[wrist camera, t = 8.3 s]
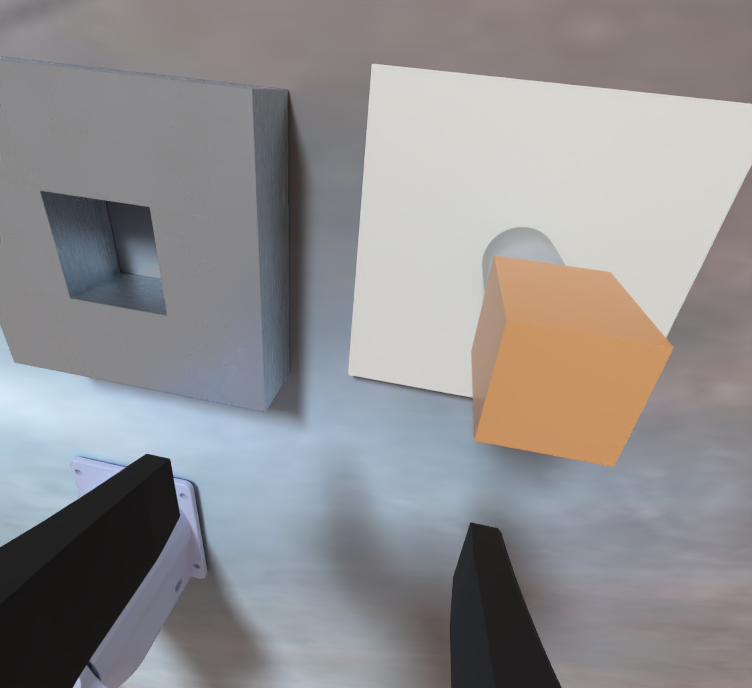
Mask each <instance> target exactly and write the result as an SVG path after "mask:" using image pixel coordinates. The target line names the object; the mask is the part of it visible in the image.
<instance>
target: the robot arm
mask: <svg viewBox="0 0 752 688" xmlns="http://www.w3.org/2000/svg"><path fill="white" fill-rule="evenodd" d="M70 467H71V470H72V473H73V476H74V478H75V481H76V484H77V487H78V490H79V492H80V496H79V497H78V498H77V499H76V500H75V501H74V502H73V503H71V504H70V505H68V506H66V507H65V508H63V509H62V510H60V511H59V512H57V513H56V514H54V515H52V516H51V517H49V518H48V519H46V520H45V521H43V522H41V523H40V524H38V525H37V526H35V527H33V528H32V529H30V530H28V531H27V532H25V533H23V534H22V535H20V536H18V537H17V538H15V539H13V540H12V541H10V542H8V543H7V544H5V545H3V546H2V547H0V688H118V687H119V686H120V685H121V684H123V683H124V682H125V681H126V680H127V679H128V678H129V677H130V676H131V675H132V674H133V673H134V672H135V671H136V670H137V668H138V667H139V666H140V664H141V663H142V661H143V660H144V658H145V656H146V655H147V653H148V651H149V649H150V648H151V646H152V644H153V642H154V641H155V639H156V637H157V635H158V634H159V632H160V630H161V628H162V627H163V625H164V623H165V621H166V620H167V618H168V616H169V614H170V613H171V611H172V609H173V607H174V606H175V604H176V602H177V600H178V599H179V597H180V595H181V594H182V592H183V590H184V588H185V587H186V585H187V583H188V581H189V580H190V578H191V577H194V578H198V579H203V578H205V577H206V575H207V566H206V560H205V554H204V548H203V542H202V536H201V530H200V524H199V518H198V512H197V506H196V499H195V493H194V488H193V485H192V484H191V483H190V482H188V481H186V480H182V479H177V478H173V472H172V467H171V461H170V459H168V458H164V457H159V456H154V455H150V454H146V455H144V456H143V457H141V458H139V459H138V460H136V461H135V462H133V463H132V464H130V465H129V466H127V467H123V466H118V465H114V464H109V463H104V462H100V461H95V460H91V459H86V458H82V457H75V458H73V459H72V460H71V461H70ZM450 650H451V686H452V688H561V685H560V683H559V681H558V679H557V677H556V675H555V673H554V670H553V668H552V666H551V664H550V661H549V659H548V657H547V655H546V652H545V650H544V648H543V645H542V643H541V641H540V638H539V636H538V633H537V631H536V628H535V626H534V624H533V621H532V619H531V616H530V614H529V612H528V609H527V606H526V604H525V601H524V599H523V596H522V593H521V591H520V588H519V585H518V582H517V580H516V577H515V574H514V571H513V568H512V565H511V562H510V559H509V556H508V553H507V550H506V547H505V543H504V540H503V537H502V533H501V532H500V530H499V529H498V528H494V527H489V526H484V525H480V524H475V523H470V525H469V529H468V532H467V535H466V538H465V541H464V544H463V548H462V551H461V554H460V557H459V560H458V564H457V567H456V570H455V573H454V576H453V587H452V601H451V617H450Z"/></svg>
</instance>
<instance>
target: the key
mask: <svg viewBox="0 0 752 688" xmlns="http://www.w3.org/2000/svg"><path fill="white" fill-rule="evenodd" d="M482 270H483V279H484V288H485V295H484V299H483V304H482V308H481V312H480V316H479V321H478V325H477V329H476V333H475V338H474V342H473V346H472V350H471V360H472V389H473V419H474V441H478V442H483V443H488V444H494V445H499V446H505V447H510V448H515V449H521V450H526V451H531V452H537V453H542V454H548V455H553V456H558V457H564V458H569V459H575V460H580V461H585V462H591V463H596V464H602V465H607V466H612V467H614V466H615V464H616V462H617V460H618V458H619V456H620V454H621V452H622V450H623V448H624V446H625V444H626V442H627V440H628V438H629V436H630V434H631V432H632V430H633V428H634V426H635V424H636V422H637V420H638V418H639V416H640V414H641V412H642V410H643V408H644V406H645V404H646V402H647V400H648V398H649V396H650V394H651V392H652V390H653V388H654V386H655V384H656V382H657V380H658V378H659V376H660V374H661V372H662V370H663V368H664V366H665V364H666V362H667V360H668V358H669V356H670V354H671V352H672V350H673V348H674V347H673V346H672V345H671V344H670V342H669V341H668V340H667V339H666V338H665V336H664V335H663V334H662V333H661V332H660V330H659V329H658V328H657V327H656V326H655V324H654V323H653V322H652V321H651V320H650V319H649V317H648V316H647V315H646V314H645V313H644V311H643V310H642V309H641V308H640V307H639V305H638V304H637V303H636V302H635V301H634V299H633V298H632V297H631V296H630V295H629V293H628V292H627V291H626V290H625V289H624V288H623V286H622V285H621V284H620V283H619V282H618V280H617V279H616V278H615V277H614V276H613V274H612V273H611V272H606V271H599V270H593V269H586V268H579V267H572V266H566V265H565V263H564V262H563V260H562V258H561V257H560V255H559V254H558V252H557V250H556V249H555V247H554V245H553V244H552V242H551V241H550V239H549V238H548V237H547V236H546V235H545V234H543V233H542V232H540V231H538V230H536V229H533V228H528V227H517V228H512V229H509V230H506V231H504V232H502V233H500V234H499V235H497V236H496V237H495V238H494V239H493V240H492V241H491V242H490V243H489V245H488V246H487V248H486V250H485V252H484V255H483V259H482Z"/></svg>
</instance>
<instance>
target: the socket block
mask: <svg viewBox="0 0 752 688" xmlns="http://www.w3.org/2000/svg"><path fill="white" fill-rule="evenodd" d="M105 200H106V201H112V202H119V203H126V204H132V205H139V206H146V207H150V213H151V219H152V225H153V231H154V237H155V243H156V249H157V256H158V262H159V268H160V274H161V279H156V278H150V277H144V276H138V275H132V274H126V273H120V268H119V263H118V258H117V254H116V249H115V244H114V239H113V235H112V230H111V225H110V220H109V216H108V211H107V206H106V201H105ZM0 325H1V328H2V330H3V333H4V336H5V338H6V341H7V344H8V346H9V349H10V351H11V354H12V357H13V359H14V362H15V363H20V364H25V365H30V366H35V367H40V368H45V369H50V370H55V371H60V372H65V373H70V374H75V375H80V376H86V377H91V378H96V379H101V380H106V381H111V382H116V383H121V384H126V385H131V386H136V387H141V388H146V389H151V390H156V391H161V392H166V393H171V394H176V395H181V396H187V397H192V398H197V399H202V400H207V401H212V402H217V403H222V404H227V405H232V406H237V407H242V408H247V409H252V410H257V411H262V412H266V410H267V409H268V407H269V405H270V404H271V402H272V401H273V399H274V398H275V396H276V394H277V393H278V391H279V390H280V388H281V387H282V385H283V383H284V382H285V380H286V379H287V377H288V376H289V374H290V348H289V159H288V90H287V89H278V88H269V87H260V86H252V85H243V84H234V83H226V82H217V81H208V80H199V79H191V78H182V77H173V76H165V75H156V74H147V73H138V72H130V71H121V70H112V69H104V68H95V67H86V66H77V65H69V64H60V63H51V62H42V61H34V60H25V59H16V58H8V57H0Z"/></svg>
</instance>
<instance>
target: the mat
mask: <svg viewBox="0 0 752 688" xmlns="http://www.w3.org/2000/svg"><path fill="white" fill-rule="evenodd" d="M751 164H752V104H747V103H738V102H729V101H719V100H710V99H700V98H691V97H681V96H672V95H662V94H653V93H644V92H634V91H625V90H615V89H606V88H596V87H587V86H577V85H568V84H558V83H549V82H540V81H530V80H521V79H511V78H502V77H492V76H483V75H473V74H464V73H455V72H445V71H436V70H426V69H417V68H407V67H398V66H388V65H379V64H372V70H371V83H370V96H369V109H368V122H367V135H366V148H365V162H364V175H363V188H362V201H361V214H360V227H359V240H358V253H357V266H356V280H355V293H354V306H353V319H352V332H351V345H350V358H349V371H348V375H352V376H358V377H363V378H368V379H374V380H379V381H385V382H390V383H396V384H401V385H406V386H412V387H417V388H423V389H428V390H434V391H439V392H444V393H450V394H455V395H461V396H466V397H472V398H473V389H472V360H471V350H472V346H473V342H474V338H475V333H476V329H477V325H478V321H479V316H480V312H481V308H482V304H483V299H484V295H485V288H484V279H483V270H482V259H483V255H484V252H485V250H486V248H487V246H488V245H489V243H490V242H491V241H492V240H493V239H494V238H495V237H496V236H497V235H499V234H500V233H502V232H504V231H506V230H509V229H512V228H517V227H528V228H533V229H536V230H538V231H540V232H542V233H543V234H545V235H546V236H547V237H548V238H549V239H550V241H551V242H552V244H553V245H554V247H555V249H556V250H557V252H558V254H559V255H560V257H561V258H562V260H563V262H564V263H565V265H566V266H572V267H579V268H586V269H593V270H599V271H606V272H611V273H612V274H613V276H614V277H615V278H616V279H617V280H618V282H619V283H620V284H621V285H622V286H623V288H624V289H625V290H626V291H627V292H628V293H629V295H630V296H631V297H632V298H633V299H634V301H635V302H636V303H637V304H638V305H639V307H640V308H641V309H642V310H643V311H644V313H645V314H646V315H647V316H648V317H649V319H650V320H651V321H652V322H653V323H654V324H655V326H656V327H657V328H658V329H659V330H660V332H661V333H662V334H663V335H664V336H665V338H666V337H667V335H668V333H669V331H670V329H671V327H672V325H673V323H674V321H675V318H676V316H677V314H678V312H679V310H680V308H681V306H682V304H683V302H684V300H685V298H686V296H687V294H688V292H689V290H690V288H691V286H692V284H693V282H694V280H695V278H696V276H697V274H698V272H699V270H700V268H701V266H702V264H703V262H704V260H705V258H706V256H707V254H708V252H709V250H710V248H711V246H712V243H713V241H714V239H715V237H716V235H717V233H718V231H719V229H720V227H721V225H722V223H723V221H724V219H725V217H726V215H727V213H728V211H729V209H730V207H731V205H732V203H733V201H734V199H735V197H736V195H737V193H738V191H739V189H740V187H741V185H742V183H743V181H744V179H745V177H746V175H747V173H748V171H749V169H750V166H751Z"/></svg>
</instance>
